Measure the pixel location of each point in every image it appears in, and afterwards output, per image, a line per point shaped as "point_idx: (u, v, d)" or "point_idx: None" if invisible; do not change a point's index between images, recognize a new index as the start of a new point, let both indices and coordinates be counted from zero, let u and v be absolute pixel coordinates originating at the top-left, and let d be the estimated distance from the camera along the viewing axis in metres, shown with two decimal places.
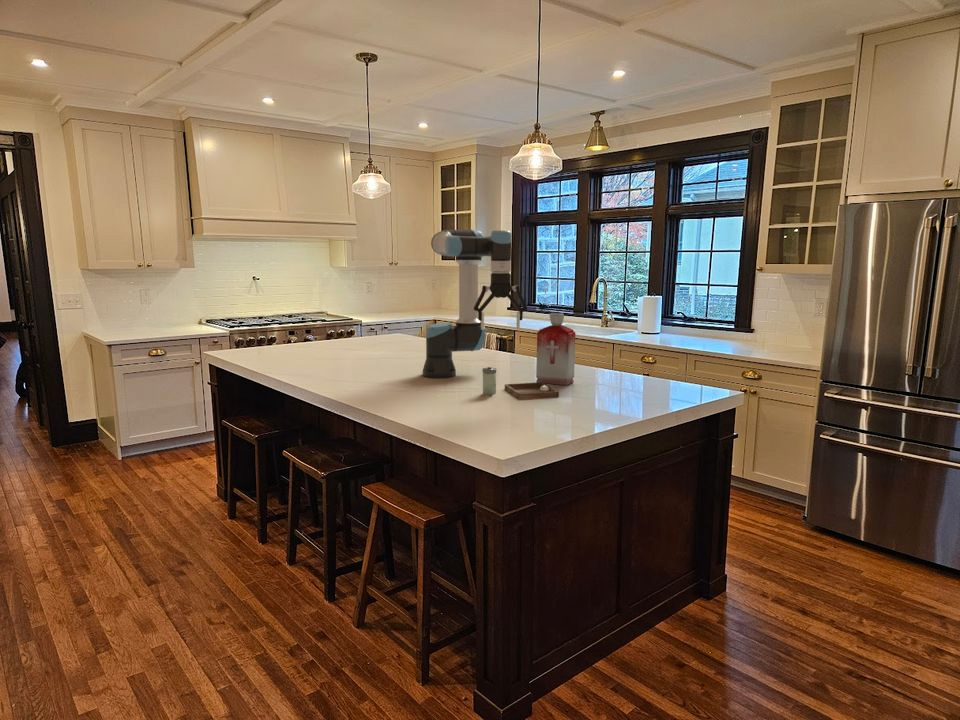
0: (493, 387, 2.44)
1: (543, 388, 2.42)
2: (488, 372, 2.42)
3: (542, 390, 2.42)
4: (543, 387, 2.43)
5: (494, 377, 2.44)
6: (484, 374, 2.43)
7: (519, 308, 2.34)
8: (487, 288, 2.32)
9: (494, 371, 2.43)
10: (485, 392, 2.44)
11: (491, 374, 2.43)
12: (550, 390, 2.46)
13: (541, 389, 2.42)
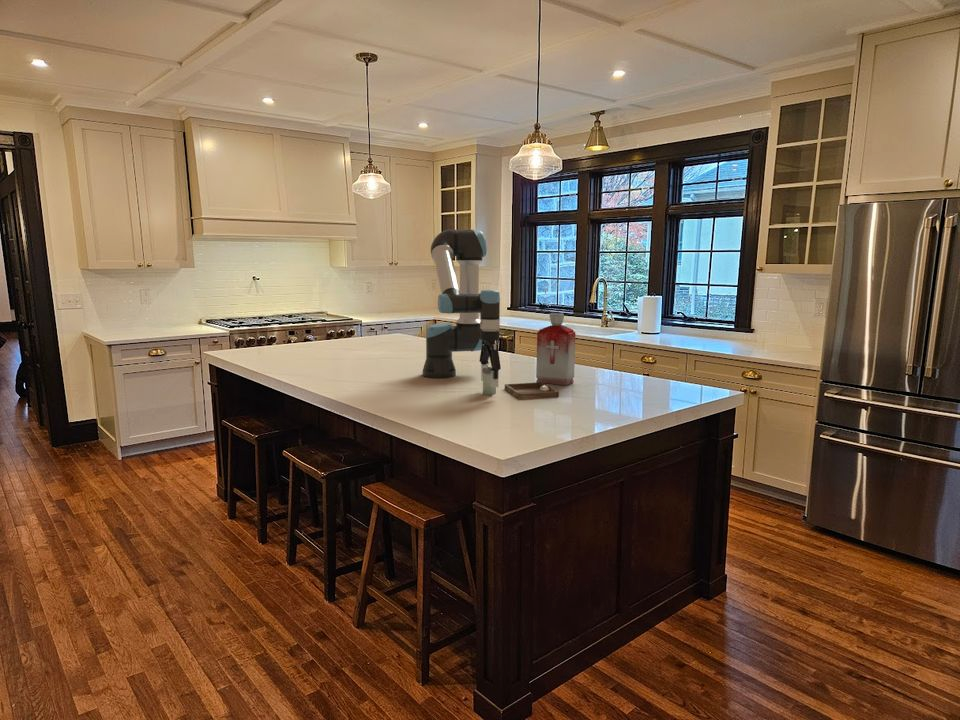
0: (493, 387, 2.44)
1: (543, 388, 2.42)
2: (488, 372, 2.42)
3: (542, 390, 2.42)
4: (543, 387, 2.43)
5: None
6: (484, 374, 2.43)
7: (492, 366, 2.37)
8: (484, 343, 2.48)
9: None
10: (485, 392, 2.44)
11: None
12: (550, 390, 2.46)
13: (541, 389, 2.42)
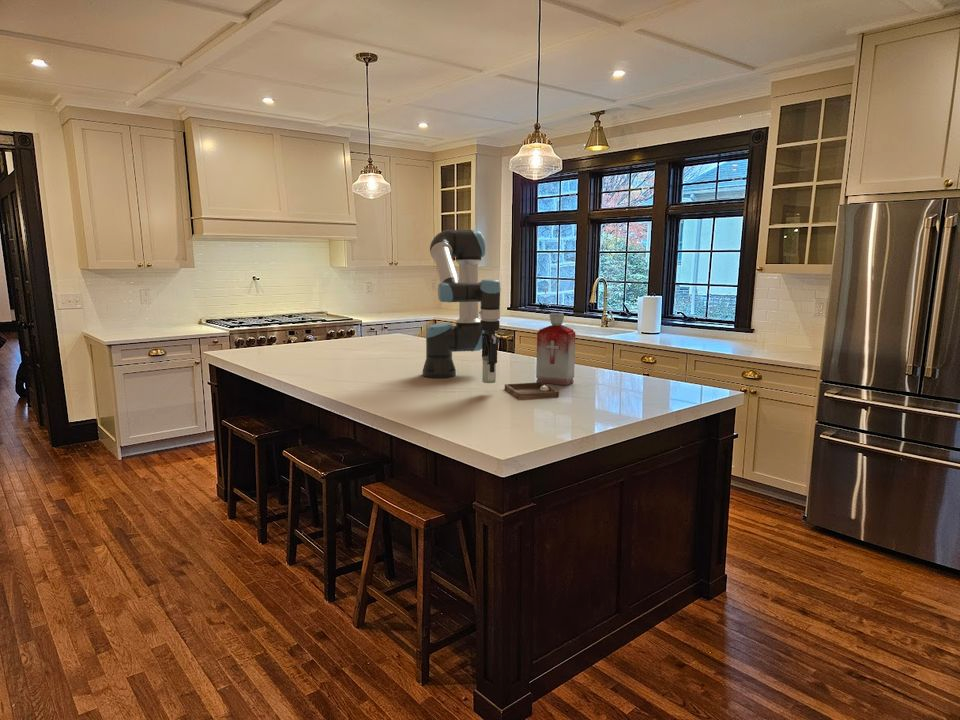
0: None
1: (543, 388, 2.42)
2: (488, 359, 2.42)
3: (542, 390, 2.42)
4: (543, 387, 2.43)
5: None
6: (484, 361, 2.43)
7: (489, 359, 2.41)
8: None
9: None
10: (485, 380, 2.44)
11: None
12: (550, 390, 2.46)
13: (541, 389, 2.42)
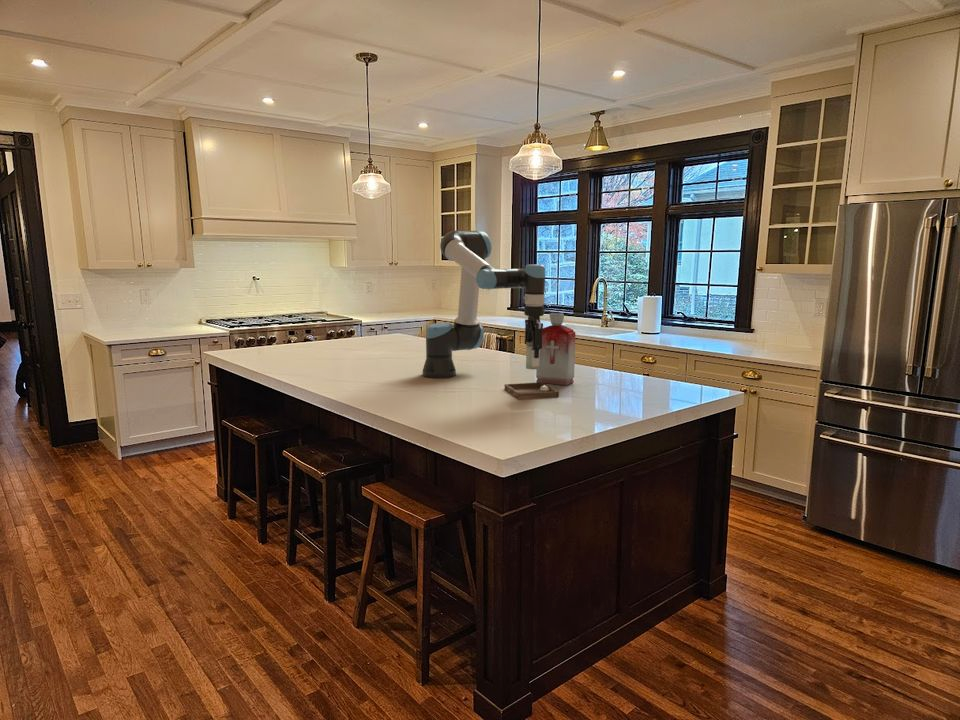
0: None
1: (543, 388, 2.42)
2: (532, 345, 2.39)
3: (542, 390, 2.42)
4: (543, 387, 2.43)
5: None
6: (528, 347, 2.40)
7: (533, 345, 2.38)
8: (528, 321, 2.45)
9: None
10: (529, 366, 2.41)
11: None
12: (550, 390, 2.46)
13: (541, 389, 2.42)
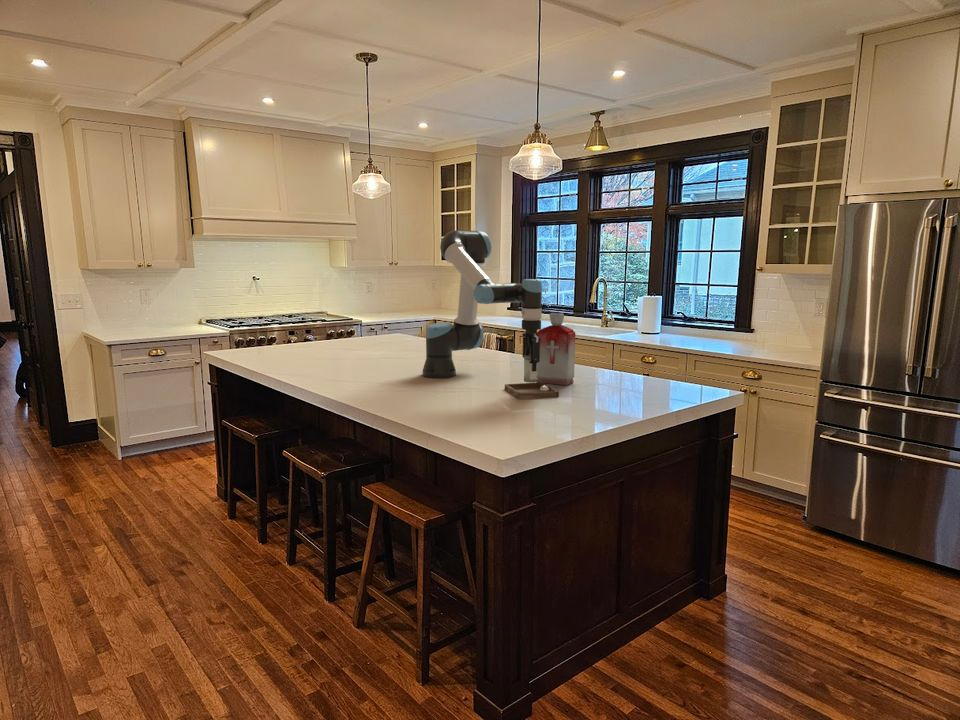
0: None
1: (543, 388, 2.42)
2: (530, 359, 2.43)
3: (542, 390, 2.42)
4: (543, 387, 2.43)
5: None
6: (526, 361, 2.44)
7: (531, 359, 2.42)
8: None
9: None
10: (526, 379, 2.45)
11: None
12: (550, 390, 2.46)
13: (541, 389, 2.42)
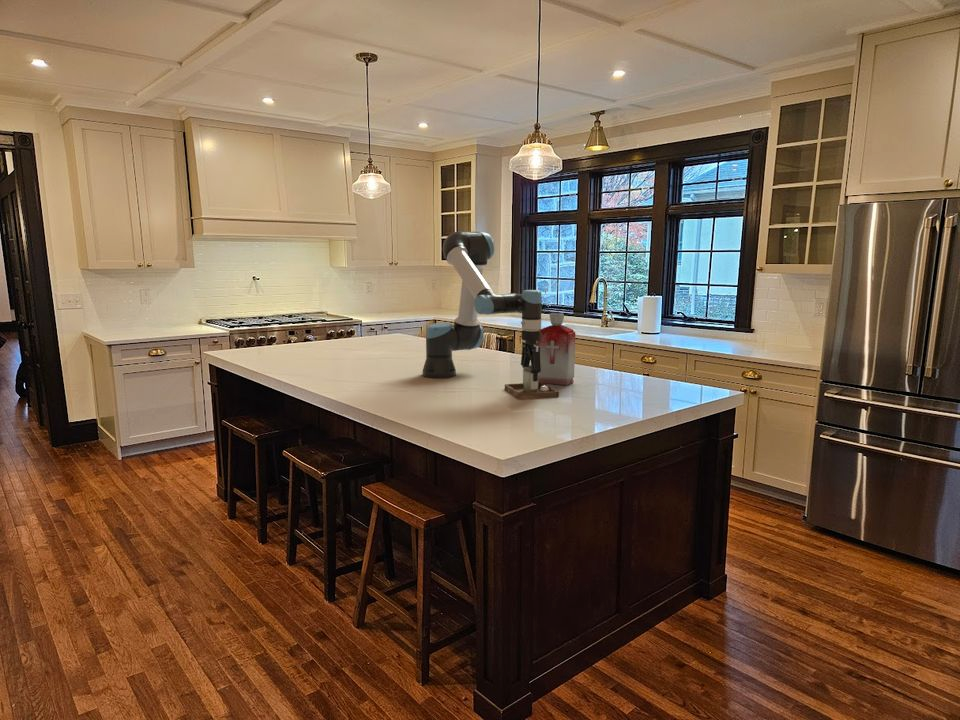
0: None
1: (543, 388, 2.42)
2: (529, 370, 2.44)
3: (542, 390, 2.42)
4: (543, 387, 2.43)
5: None
6: (525, 372, 2.45)
7: (532, 369, 2.41)
8: (525, 344, 2.49)
9: None
10: (526, 390, 2.46)
11: None
12: (550, 390, 2.46)
13: (541, 389, 2.42)
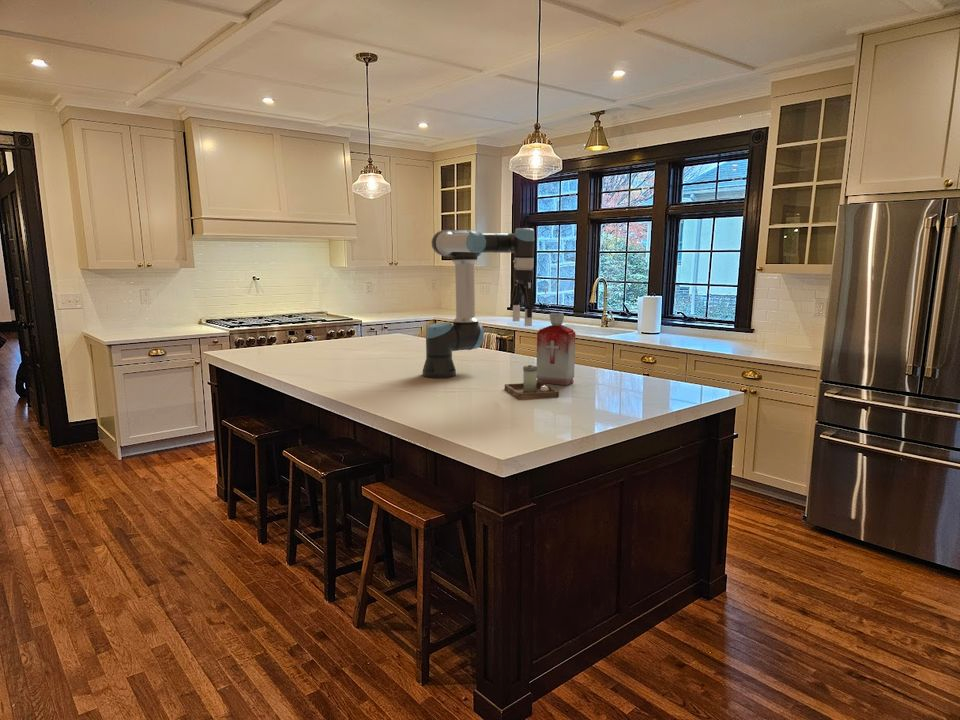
0: (534, 385, 2.45)
1: (543, 388, 2.42)
2: (529, 370, 2.44)
3: (542, 390, 2.42)
4: (543, 387, 2.43)
5: (535, 375, 2.45)
6: (525, 372, 2.45)
7: (526, 305, 2.36)
8: None
9: (535, 369, 2.44)
10: (526, 390, 2.46)
11: (532, 372, 2.44)
12: (550, 390, 2.46)
13: (541, 389, 2.42)
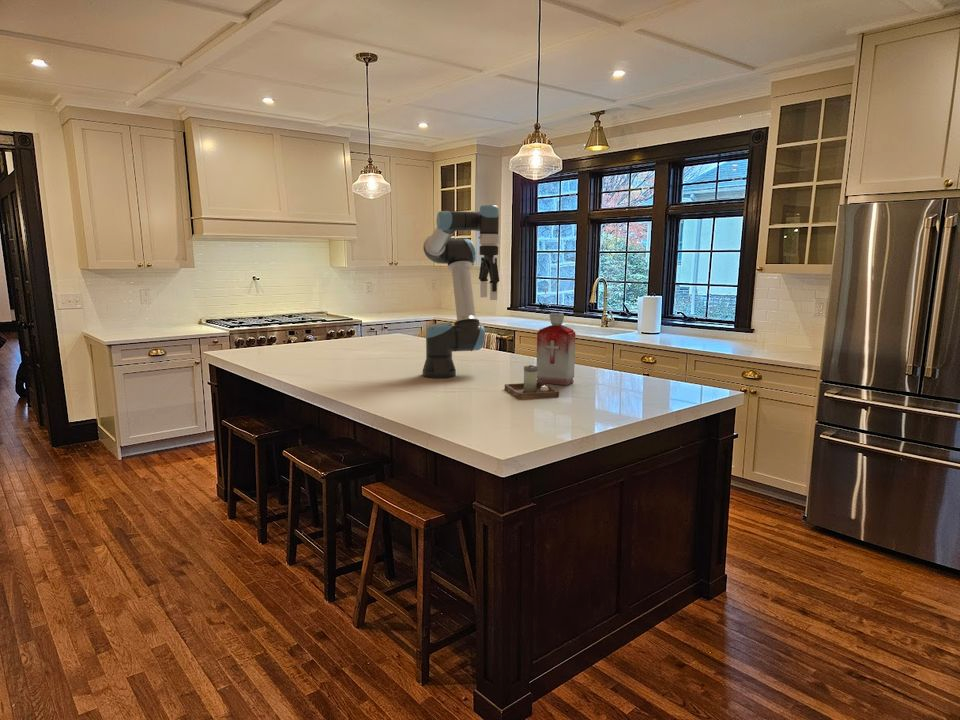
0: (534, 385, 2.45)
1: (543, 388, 2.42)
2: (530, 370, 2.44)
3: (542, 390, 2.42)
4: (543, 387, 2.43)
5: (535, 375, 2.45)
6: (525, 372, 2.45)
7: (490, 279, 2.44)
8: (484, 259, 2.54)
9: (535, 369, 2.44)
10: (526, 390, 2.46)
11: (533, 372, 2.44)
12: (550, 390, 2.46)
13: (541, 389, 2.42)
